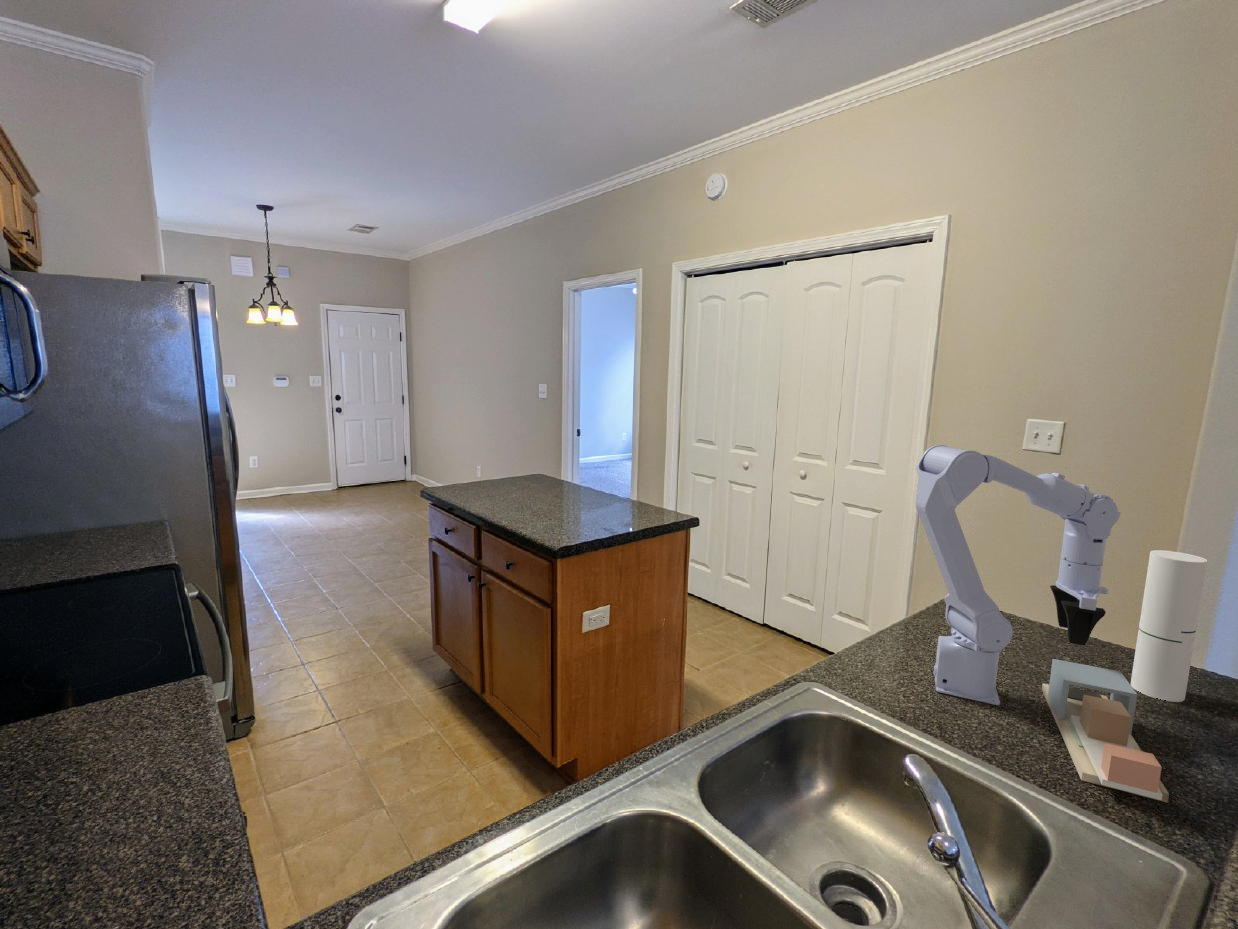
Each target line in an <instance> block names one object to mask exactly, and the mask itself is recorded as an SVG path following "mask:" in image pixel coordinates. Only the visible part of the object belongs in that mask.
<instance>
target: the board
mask: <svg viewBox="0 0 1238 929" xmlns="http://www.w3.org/2000/svg"><path fill="white" fill-rule="evenodd" d="M1048 690H1049V684H1048V683H1042V685H1041V691H1042V693H1043V696H1044V698H1045V700H1046V703H1047V705H1048V707H1049V709H1050V712H1051V714H1052V716H1053V719H1054V721H1055V723H1056V726H1057V728H1058V729H1059V733H1060V735H1061V736H1062V739H1063V741H1064V744H1065V746H1066V749H1067V751H1068V752H1069V755H1070V758H1071V760H1072V762H1073V764H1074V766H1075V769H1076V772H1077V773H1078V775H1079V778H1080V780H1081V781H1083V782H1087V783H1091V784H1094V785H1099V786H1102V787H1106V788H1110V789H1114V790H1119V791H1122V792H1126V793H1130V794H1134V795H1137V796H1141V797H1144V798H1149V799H1152V800H1156V801H1161V802H1165V803H1169V798H1170V793H1169V792H1168V790H1167V788H1166V787H1165V786H1164V784H1163V782H1162V781H1161V780H1160V781H1159V787H1158V788H1159V789H1160V791H1161V793H1162V794H1163V795H1162V800H1159V799H1155V798H1151V797H1147V796H1143V795H1139V794H1135V793H1132V792H1128V791H1124V790H1120V789H1116V788H1112V787H1108V786H1104V785H1102V784H1101V782H1100V780H1099V778H1098V776H1097V774H1096V771H1095V769H1094V767H1093V765H1092V763H1091V761H1090V759H1089V757H1088V755H1087V753H1086V751H1085V749H1084V747H1083V745H1082V742H1081V740H1080V738H1079V736H1078V734H1077V732H1076V730H1075V728H1074V726H1073V724H1072V722H1071V720H1070V719H1071V715H1074V716H1079V717H1081V710H1082V702H1083V695H1088V696H1093V697H1098V698H1103V699H1108V700H1110V698H1108V696H1107V695H1101V694H1100V693H1098V692H1095V691H1087V690H1083V689H1079V688H1078V689H1077V688H1072V687H1069V692H1068V699H1067V706H1066V714H1065V720H1062V719H1058V717H1057V714H1056V712H1055V710H1054V708H1053V705H1052V703H1051V701H1050V699H1049V696H1048ZM1128 740H1129V741H1130V743H1131V744H1132V746H1133V748H1134V749H1135V750H1138V751H1142V749H1141V748H1140V746H1139V745H1138V743H1137V742H1136V740H1135V738H1134V737H1133V736H1132V734H1131V735H1130V734H1129V736H1128Z"/></svg>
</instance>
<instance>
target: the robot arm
mask: <svg viewBox="0 0 1238 929" xmlns="http://www.w3.org/2000/svg"><path fill="white" fill-rule="evenodd" d="M915 470H916V472H917V475H918V476H917V478H918V479H917V485H916V486H917V488H916V495H915V496H916V497H915V509H916V510H917V513H918V516H919V519H920V522H921V524H922V526H923V530H924V531H925V534H926V538H927V539H928V541H929V545H930V548H931V549H932V552H933V555H934V558H935V561H936V563H937V566H938V568H939V571H940V573H941V576H942V579H943V582H944V584H945V586H946V589H947V591H948V593H947V594H946V595H945V596H944V597H943V600H944V603H945V612H944V613H945V620H946V622H947V624H948V625H949V626H950V627H951V628H950V629H951V630H950V634H951V635H939V636H938V639H937V645H936V646H937V647H936V658H935V664H934V665H933V676H934V681H935V682H934V683H935V692H937V693H941V694H945V695H950V696H955V697H959V698H963V699H968V700H972V701H977V702H982V703H987V704H991V705H994V706H995V705H996V706H1000V705H1001V701H1000V698H999V694H998V691H997V687H996V684H997V677H998V676H997V675H998V668H999V659H1000V658H999V657H1000V653H1001V652H1002V651H1003V649H1004V648H1006V647H1007V646H1008V645H1009V644H1010V642H1011V641H1012V638H1013V633H1014V632H1013V630H1014V629H1013V626H1012V624H1011V622H1010V621H1009V620H1008V619H1007V618H1006V617H1004V615H1002V613H1001V610H1000V608H999V606H998V604H996V602H994V600H993V599H992V598H991V597H990V595H989V594H988V593H987V592H986V590H985V588H984V585H983V583H982V580H981V577H980V574H979V571H978V569H977V566H976V564H975V562H974V557H973V555H972V553H971V551H970V548H969V546H968V543H967V540H966V538H965V534H964V532H963V529H962V527H961V523H960V521H959V518H958V516H957V513H956V509H957V506H958V505H961V503H962V502H963V501H964V500H966V499H967V498H968V497H969V496H970V495H971V494H972V493H973V492H974V491H975V490H977V489H978V487H979V486H981V485H982V483H985V484H990V483H991V482H992V481H993V482H996V483H999V484H1002V485H1004V486H1007V487H1010V488H1012V489H1015V490H1018V491H1020V492H1023V493H1025V496H1026V499H1027V501H1028V503H1030V504H1032V505H1034V506H1036V507H1039V508H1040V509H1044V510H1045V511H1047V512H1050V513H1053V514H1055V515H1057V516H1059V517H1060V518H1061V519H1062V520H1064V527H1063V528H1064V530H1063V537H1062V544H1061V545H1062V546H1061V551H1060V552H1061V553H1060V558H1059V560H1060V561H1059V567H1058V568H1059V569H1058V575H1057V580H1056V581H1055V585H1050V586H1049V587H1050V590H1051V592H1052V594H1053V597H1054V602H1055V606H1056V616H1057V622H1058V626H1059V627H1060V628H1065V629H1067V638H1068V642H1069V644H1072V645H1079V646H1083V647H1084V646H1086V645H1087V642H1088V641H1089V639H1090V636H1091V634H1092V632H1093V629H1094V628H1095V627H1096V625H1097V624H1098V623H1099V621H1100V620H1102V618H1104V617H1105V615H1106V612H1107V611H1106V610H1105V608H1102V607H1097V603H1098V597H1099V596H1100V595H1101V594H1102V595H1103V594H1104V595H1109V594H1108V593H1109V589H1108V588H1107V587H1104V586H1101V580H1102V572H1103V566H1104V559H1105V552H1106V543H1107V539H1109V536H1111V532H1112V528H1113V527H1114V526H1115V525H1116V523H1117V522H1118V521H1119V519H1120V517H1121V512H1120V511H1119V509H1118V506H1117V504H1116V502H1115V501H1114V500H1113V498H1111V496H1108V495H1105V494H1101V493H1100V494H1099V493H1095V492H1091V490H1089V489H1090V488H1089V487H1090V486H1087V485H1085V484H1076V483H1075V484H1074V483H1072V482H1070V481H1069V480H1066V479H1065V478H1066V476H1065V475H1063V474H1061V473H1058V472H1052V473H1047V472H1045V473H1040V474H1038V475H1034V474H1032V473H1030V472H1028V471H1025V470H1023V469H1021V468H1019V467H1017V466H1015V465H1014V464H1011V463H1009V462H1007V461H1005V460H1002V459H1000V458H999V457H996V456H993V455H990V454H985V453H980V452H978V451H976V450H971V449H969V450H967V449H962V448H961V449H959V448H956V447H955V448H954V447H950V446H947V445H945V444H944V445H943V444H936V445H932V446H930V447H929V448H927V449H926V450H925V451H924V452H923V454H922V455H921V457H920V459H919V460H918V462H917V463H916V465H915Z"/></svg>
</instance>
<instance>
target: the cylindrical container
mask: <svg viewBox="0 0 1238 929" xmlns="http://www.w3.org/2000/svg"><path fill="white" fill-rule="evenodd" d="M1207 567H1208V560H1207V559H1206V558H1204V557H1202V556H1198V555H1195V554H1190V553H1186V552H1181V551H1174V550H1173V551H1172V550H1164V549H1158V550H1157V549H1156V550H1155V549H1154V550H1150V551H1149V558H1148V565H1147V571H1146V578H1145V585H1144V591H1143V598H1142V604H1141V612H1140V618H1139V625H1138V632H1137V638H1136V643H1135V644H1136V645H1135V652H1134V659H1133V664H1132V672H1131V677H1130V678H1131V679H1130V685H1131V686H1132V688H1133V689H1134V690H1135V691H1136V692H1138V691H1139V693H1140V692H1141V694H1143V695H1145V696H1148V697H1150V698H1153V699H1156V698H1158V699H1157V700H1160V699H1161V700H1160V701H1164V700H1166V701H1165V702H1170V703H1171V702H1172V703H1181V702H1183V701H1185V699H1186V695H1187V687H1188V681H1189V674H1190V669H1191V664H1192V657H1193V652H1194V651H1193V650H1194V645H1195V640H1196V633H1197V627H1198V621H1199V616H1200V615H1199V614H1200V608H1201V602H1202V601H1201V600H1202V596H1203V589H1204V586H1205V585H1204V583H1205V578H1206V571H1207Z"/></svg>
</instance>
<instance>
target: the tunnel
mask: <svg viewBox="0 0 1238 929" xmlns="http://www.w3.org/2000/svg"><path fill="white" fill-rule="evenodd" d="M1051 661H1052V662H1051V669H1050V677H1049V690H1048V696H1049V699H1050V701H1051V703H1052V705H1053V708H1054V710H1055V712H1056V714H1057V717H1058V719H1062V720H1065V714H1066V706H1067V699H1068V692H1069V688H1070V686H1075V687H1079V688H1085V689H1090V690H1095V691H1100V692H1103V693H1108V694H1109V693H1110V695H1109V700H1113V701H1118V702H1121V703H1122V704H1123V706H1124V707H1125V709H1126V710H1127V712H1128V713H1129V715H1130V716H1131V723H1130V729H1129V734H1130V735H1132V732H1133V726H1134V721H1135V712H1136V705H1137V699H1138V693H1137V691H1136V690H1135V689H1134V688H1133V687H1132V686H1131V683H1130V682H1129V681H1128V679H1127V678H1126V677H1125V675H1123V673H1122V671H1120V670H1115V669H1109V668H1105V667H1099V666H1093V665H1090V664H1089V665H1087V664H1082V663H1077V662H1073V661H1072V662H1070V661H1066V660H1061V659H1056V658H1052V660H1051Z"/></svg>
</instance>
